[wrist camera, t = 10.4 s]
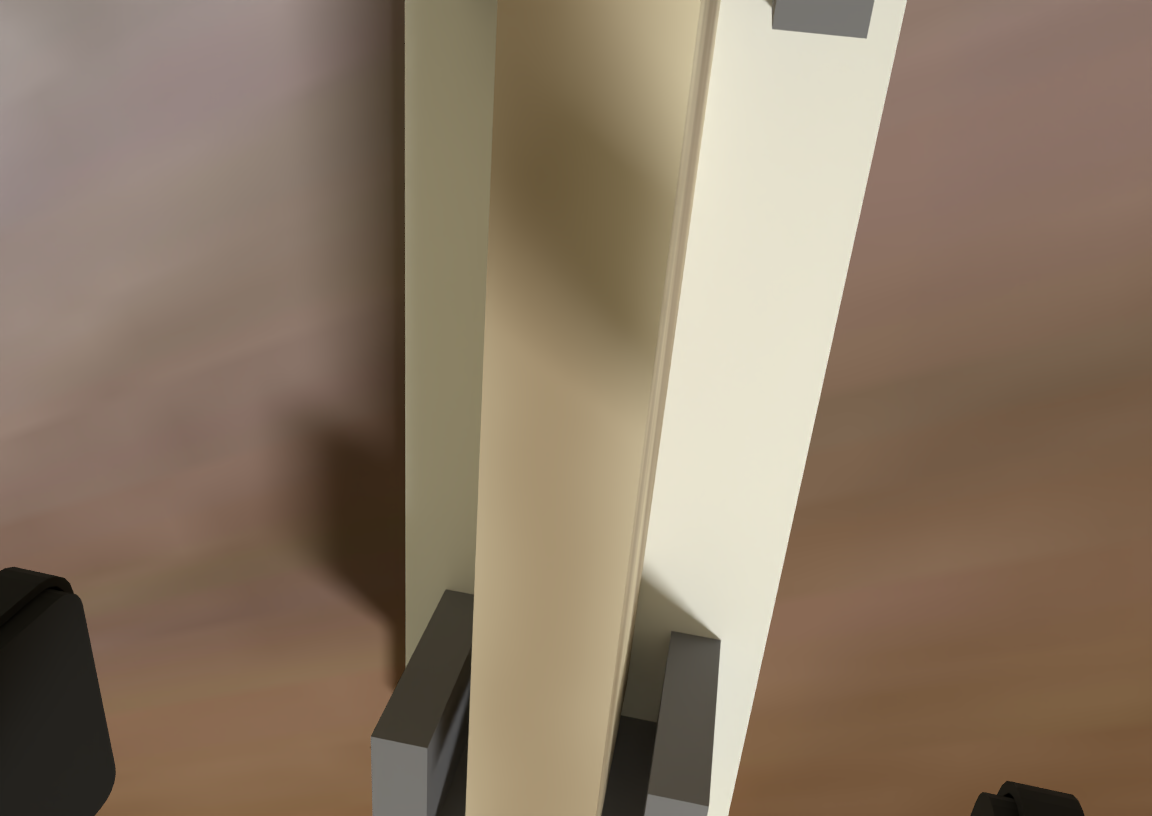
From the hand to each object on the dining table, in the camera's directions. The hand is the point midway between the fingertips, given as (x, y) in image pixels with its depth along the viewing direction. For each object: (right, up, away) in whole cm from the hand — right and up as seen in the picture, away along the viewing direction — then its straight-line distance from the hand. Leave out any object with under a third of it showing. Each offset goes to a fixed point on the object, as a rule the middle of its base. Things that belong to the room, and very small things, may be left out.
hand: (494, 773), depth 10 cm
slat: (+2, +5, +10) cm, 12 cm away
